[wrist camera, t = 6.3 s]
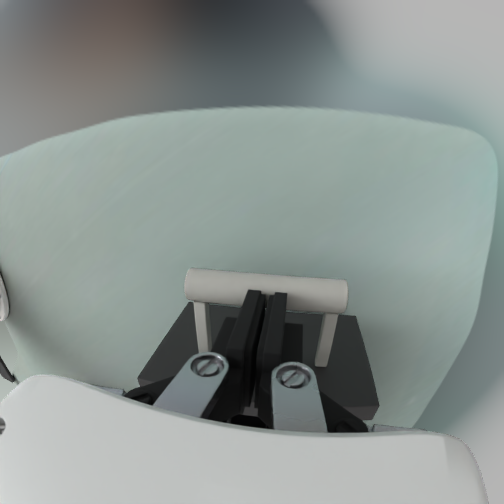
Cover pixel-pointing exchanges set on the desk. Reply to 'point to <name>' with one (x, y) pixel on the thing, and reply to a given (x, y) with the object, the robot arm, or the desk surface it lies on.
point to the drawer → (298, 299)
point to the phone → (5, 371)
